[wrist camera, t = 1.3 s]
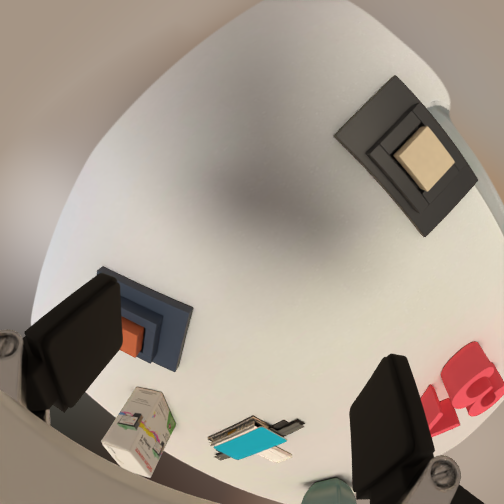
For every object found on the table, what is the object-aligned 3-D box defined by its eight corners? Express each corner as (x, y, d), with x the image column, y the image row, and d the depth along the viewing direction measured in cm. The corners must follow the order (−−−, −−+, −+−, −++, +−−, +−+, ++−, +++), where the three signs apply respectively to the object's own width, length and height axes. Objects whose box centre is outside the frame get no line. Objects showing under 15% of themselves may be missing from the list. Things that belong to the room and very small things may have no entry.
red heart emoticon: (423, 425, 32) (429, 449, 27) (389, 404, 31) (394, 433, 26) (496, 367, 26) (509, 390, 22) (473, 336, 25) (489, 362, 21)
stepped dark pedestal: (333, 135, 22) (336, 134, 19) (392, 76, 19) (401, 70, 16) (421, 235, 23) (431, 244, 21) (474, 178, 20) (487, 183, 18)
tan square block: (392, 155, 19) (398, 156, 18) (420, 126, 18) (427, 125, 17) (420, 189, 20) (427, 192, 18) (446, 160, 18) (455, 162, 17)
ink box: (177, 424, 40) (151, 480, 29) (151, 418, 41) (123, 470, 30) (162, 391, 37) (128, 452, 26) (135, 385, 38) (98, 441, 27)
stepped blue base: (101, 327, 34) (89, 339, 32) (102, 266, 31) (87, 276, 28) (178, 366, 34) (169, 382, 31) (193, 307, 30) (183, 323, 27)
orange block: (116, 335, 31) (109, 344, 29) (117, 313, 29) (109, 321, 28) (142, 348, 30) (135, 358, 29) (144, 327, 29) (137, 336, 27)
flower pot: (300, 481, 42) (295, 518, 34) (340, 471, 39) (339, 511, 31) (321, 492, 43) (319, 525, 35) (359, 482, 40) (359, 518, 32)
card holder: (246, 469, 42) (244, 476, 41) (194, 442, 41) (191, 449, 40) (331, 437, 35) (331, 446, 33) (273, 404, 34) (272, 413, 32)
